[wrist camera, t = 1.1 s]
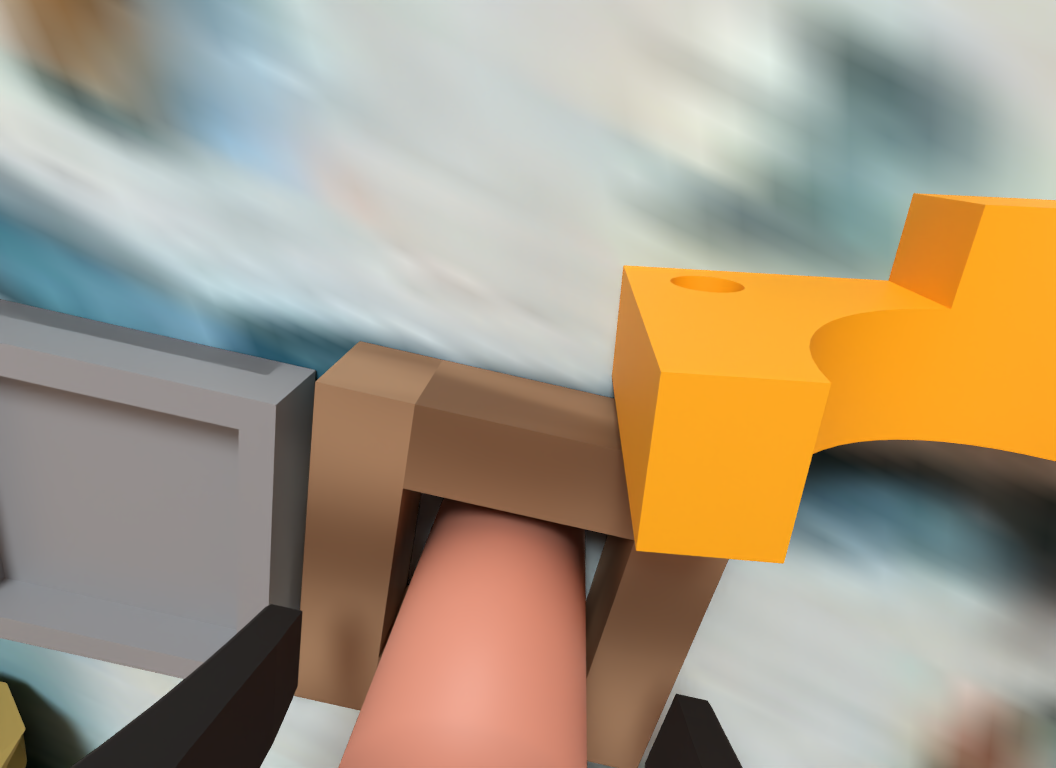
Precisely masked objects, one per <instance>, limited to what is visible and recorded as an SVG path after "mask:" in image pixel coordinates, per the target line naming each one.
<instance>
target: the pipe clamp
mask: <svg viewBox="0 0 1056 768" xmlns="http://www.w3.org/2000/svg"><path fill="white" fill-rule="evenodd" d="M612 380H613V388H614V395H615V402H616V410H617V417H618V424H619V431H620V439H621V446H622V453H623V460H624V468H625V475H626V482H627V490H628V497H629V504H630V511H631V519H632V526H633V533H634V541H635V548H636V551H644V552H656V553H667V554H679V555H691V556H702V557H714V558H726V559H737V560H749V561H760V562H772V563H784V560H785V557H786V553H787V549H788V545H789V542H790V538H791V534H792V530H793V526H794V523H795V519H796V515H797V511H798V508H799V504H800V500H801V496H802V492H803V489H804V485H805V481H806V477H807V474H808V470H809V466H810V462H811V458H812V455H813V454H814V453H817V452H819V451H822V450H824V449H828V448H831V447H835V446H839V445H844V444H849V443H855V442H863V441H874V440H925V441H939V442H949V443H958V444H967V445H974V446H980V447H987V448H993V449H999V450H1004V451H1010V452H1015V453H1020V454H1025V455H1030V456H1034V457H1039V458H1043V459H1048V460H1052V461H1056V200H1040V199H1019V198H999V197H978V196H957V195H937V194H916V193H914V194H913V197H912V201H911V204H910V208H909V211H908V215H907V218H906V222H905V225H904V229H903V232H902V236H901V239H900V243H899V246H898V250H897V253H896V257H895V260H894V264H893V267H892V271H891V274H890V278H889V281H884V280H866V279H849V278H831V277H814V276H797V275H779V274H762V273H744V272H727V271H710V270H692V269H675V268H658V267H640V266H623V276H622V285H621V295H620V304H619V314H618V323H617V333H616V342H615V352H614V361H613V371H612Z"/></svg>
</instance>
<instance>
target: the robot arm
mask: <svg viewBox="0 0 1056 768" xmlns="http://www.w3.org/2000/svg"><path fill="white" fill-rule="evenodd" d="M302 614H303V611H301V610H296V609H292V608H287V607H283V606H278V605H274V604H270V605H268V606H266V607H265V608H264V609H263V610H262V611H260V612H259V613H258V614H257V615H256V616H255V617H254V618H253V619H252V620H251V621H250V622H249V623H248V624H247V625H245V626H244V627H243V628H242V629H241V630H240V631H239V632H238V633H237V634H236V635H235V636H233V637H232V638H231V639H230V640H229V641H228V642H227V643H226V644H225V645H223V646H222V647H221V648H220V649H219V650H218V651H217V652H215V653H214V654H213V655H212V656H211V657H210V658H209V659H207V660H206V661H205V662H204V663H203V664H202V665H201V666H199V667H198V668H197V669H196V670H195V671H193V672H192V673H191V674H190V675H189V676H187V677H186V678H185V679H184V680H183V681H181V682H180V683H179V684H178V685H177V686H175V687H174V688H173V689H172V690H171V691H170V692H168V693H167V694H166V695H165V696H163V697H162V698H161V699H160V700H159V701H157V702H156V703H155V704H154V705H152V706H151V707H150V708H148V709H147V710H146V711H145V712H143V713H142V714H141V715H139V716H138V717H137V718H136V719H134V720H133V721H132V722H130V723H129V724H128V725H126V726H125V727H124V728H123V729H121V730H120V731H119V732H117V733H116V734H115V735H114V736H112V737H111V738H110V739H108V740H107V741H106V742H104V743H103V744H102V745H100V746H99V747H98V748H96V749H95V750H94V751H92V752H91V753H89V754H88V755H87V756H85V757H84V758H83V759H81V760H80V761H78V762H77V763H76V764H74V765H73V766H71V767H70V768H260V766H261V764H262V763H263V761H264V759H265V757H266V755H267V753H268V752H269V750H270V748H271V746H272V744H273V742H274V740H275V737H276V735H277V733H278V731H279V728H280V726H281V724H282V722H283V719H284V717H285V715H286V712H287V710H288V708H289V705H290V703H291V701H292V698H293V696H294V694H295V691H296V689H297V687H298V674H299V659H300V644H301V629H302ZM645 768H742V766H741V764H740V762H739V760H738V758H737V756H736V754H735V752H734V750H733V748H732V746H731V744H730V742H729V740H728V739H727V737H726V735H725V733H724V731H723V729H722V727H721V725H720V723H719V721H718V719H717V717H716V715H715V713H714V711H713V709H712V707H711V705H710V704H709V702H708V701H707V700H702V699H698V698H693V697H689V696H684V695H679V694H676V695H675V697H674V700H673V702H672V704H671V706H670V709H669V711H668V713H667V715H666V717H665V720H664V722H663V724H662V726H661V729H660V731H659V733H658V735H657V738H656V740H655V742H654V744H653V747H652V749H651V751H650V753H649V755H648V758H647V760H646V762H645Z"/></svg>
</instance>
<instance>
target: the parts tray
mask: <svg viewBox="0 0 1056 768" xmlns="http://www.w3.org/2000/svg"><path fill="white" fill-rule="evenodd" d="M315 374H316V370H312V369H308V368H304V367H299V366H295V365H290V364H286V363H281V362H277V361H272V360H268V359H264V358H259V357H255V356H250V355H246V354H241V353H237V352H232V351H228V350H224V349H219V348H215V347H210V346H206V345H201V344H197V343H193V342H188V341H184V340H179V339H175V338H170V337H166V336H161V335H157V334H153V333H148V332H144V331H139V330H135V329H130V328H126V327H122V326H117V325H113V324H108V323H104V322H99V321H95V320H90V319H86V318H82V317H77V316H73V315H68V314H64V313H59V312H55V311H50V310H46V309H42V308H37V307H33V306H28V305H24V304H19V303H15V302H11V301H6V300H2V299H0V638H3V639H8V640H12V641H17V642H21V643H26V644H30V645H35V646H39V647H43V648H48V649H52V650H57V651H61V652H66V653H70V654H75V655H79V656H84V657H88V658H93V659H97V660H102V661H106V662H111V663H115V664H120V665H124V666H129V667H133V668H138V669H142V670H147V671H151V672H156V673H160V674H165V675H169V676H174V677H178V678H183V679H185V678H186V677H187V676H189V675H190V674H191V673H192V672H193V671H195V670H196V669H197V668H198V667H199V666H201V665H202V664H203V663H204V662H205V661H206V660H207V659H209V658H210V657H211V656H212V655H213V654H214V653H215V652H217V651H218V650H219V649H220V648H221V647H222V646H223V645H225V644H226V643H227V642H228V641H229V640H230V639H231V638H232V637H233V636H235V635H236V634H237V633H238V632H239V631H240V630H241V629H242V628H243V627H244V626H245V625H247V624H248V623H249V622H250V621H251V620H252V619H253V618H254V617H255V616H256V615H257V614H258V613H259V612H260V611H262V610H263V609H264V608H265V607H266V606H268V605H270V604H274V605H278V606H283V607H287V608H292V609H296V610H300V601H301V586H302V570H303V555H304V540H305V525H306V510H307V495H308V480H309V465H310V449H311V434H312V419H313V404H314V389H315Z"/></svg>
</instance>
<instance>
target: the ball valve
mask: <svg viewBox="0 0 1056 768" xmlns="http://www.w3.org/2000/svg"><path fill="white" fill-rule="evenodd" d="M24 731H25V726H24V724H23V721H22V719H21V716H20V714H19V711H18V709H17V707H16V704H15V702H14V699H13V697H12V694H11V692H10V690H9V687H8V685H7V683H4V682H1V681H0V768H25V767H26V763H27V757H26V750H25V742H24V735H23V733H24Z"/></svg>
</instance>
